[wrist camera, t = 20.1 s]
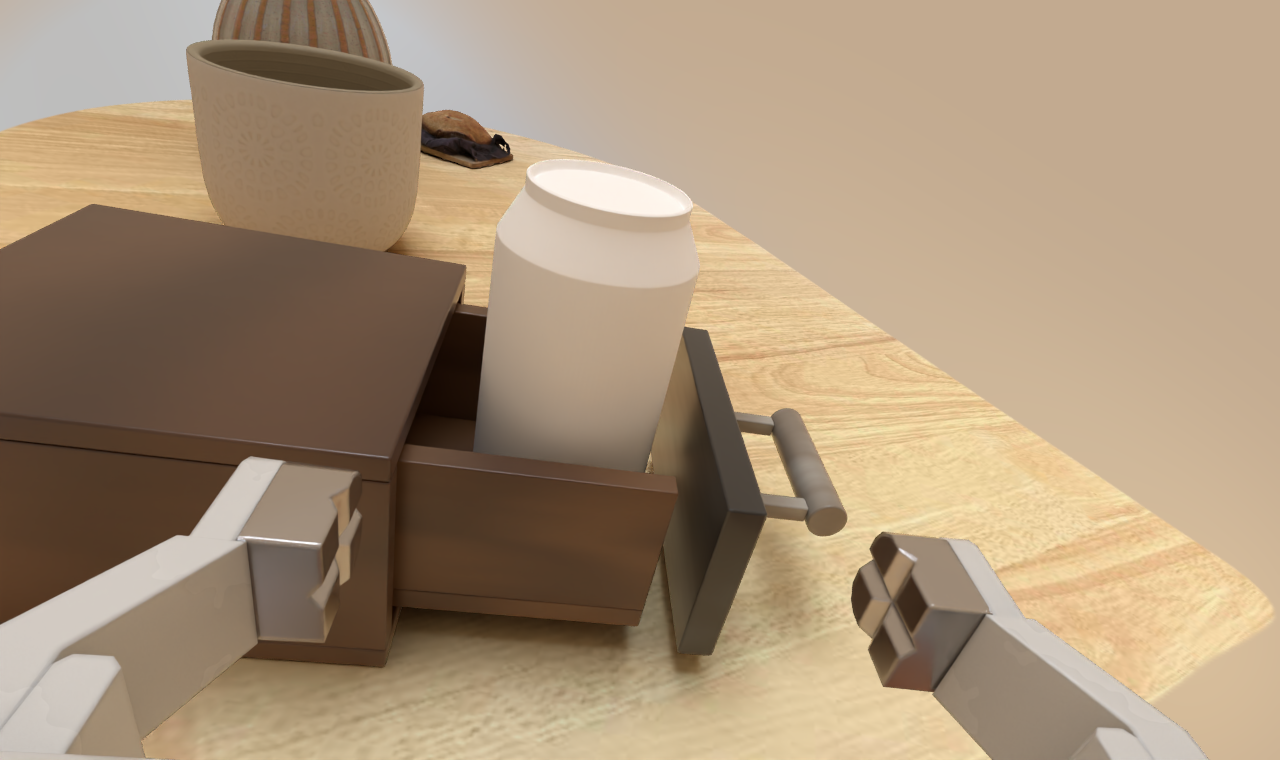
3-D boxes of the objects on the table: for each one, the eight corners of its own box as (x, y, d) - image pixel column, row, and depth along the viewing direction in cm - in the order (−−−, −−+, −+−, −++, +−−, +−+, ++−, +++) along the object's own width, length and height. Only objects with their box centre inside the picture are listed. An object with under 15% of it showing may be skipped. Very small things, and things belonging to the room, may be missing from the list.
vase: (183, 156, 54) (148, -113, 45) (283, 129, 65) (271, -90, 56) (343, 197, 53) (340, -66, 44) (416, 162, 64) (425, -53, 56)
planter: (415, 217, 53) (421, 65, 47) (418, 287, 43) (427, 104, 37) (229, 199, 48) (213, 29, 43) (185, 272, 38) (156, 63, 33)
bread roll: (383, 140, 69) (383, 102, 67) (438, 132, 76) (439, 97, 74) (470, 170, 66) (473, 131, 64) (519, 159, 73) (522, 123, 71)
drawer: (758, 458, 33) (801, 344, 30) (831, 666, 23) (904, 530, 20) (399, 412, 30) (403, 281, 27) (311, 625, 21) (302, 461, 17)
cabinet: (453, 427, 32) (467, 264, 27) (384, 668, 21) (390, 459, 17) (128, 386, 29) (91, 202, 25) (-135, 632, 19) (-273, 381, 15)
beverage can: (443, 464, 26) (468, 146, 20) (583, 435, 30) (640, 156, 24) (511, 581, 22) (568, 225, 16) (664, 531, 26) (758, 224, 20)
